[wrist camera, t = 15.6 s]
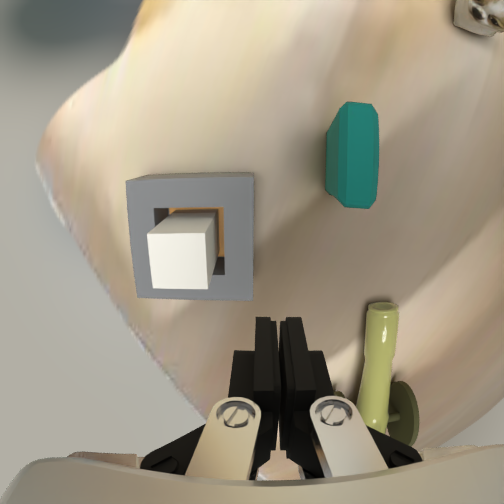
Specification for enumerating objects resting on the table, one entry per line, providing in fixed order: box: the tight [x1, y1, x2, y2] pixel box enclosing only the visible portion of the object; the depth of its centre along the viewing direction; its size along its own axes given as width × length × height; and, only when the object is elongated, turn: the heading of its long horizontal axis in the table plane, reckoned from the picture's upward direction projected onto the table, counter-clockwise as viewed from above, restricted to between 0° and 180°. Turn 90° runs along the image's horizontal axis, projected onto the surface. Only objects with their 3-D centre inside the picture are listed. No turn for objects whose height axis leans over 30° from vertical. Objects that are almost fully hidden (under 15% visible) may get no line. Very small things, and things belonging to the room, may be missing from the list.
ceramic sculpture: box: [453, 0, 504, 37], centre depth 19 cm, size 11×9×15 cm
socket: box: [126, 172, 254, 301], centre depth 32 cm, size 12×12×6 cm
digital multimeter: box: [325, 102, 379, 209], centre depth 26 cm, size 7×15×3 cm
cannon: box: [334, 302, 419, 446], centre depth 37 cm, size 25×12×11 cm, turn 3°
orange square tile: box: [169, 207, 225, 257], centre depth 34 cm, size 6×6×1 cm
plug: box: [147, 209, 220, 289], centre depth 29 cm, size 5×5×10 cm
